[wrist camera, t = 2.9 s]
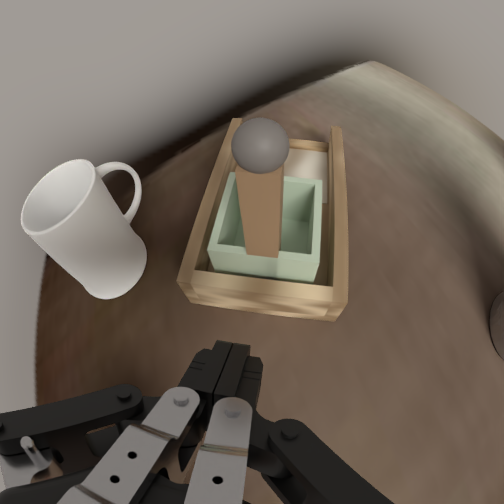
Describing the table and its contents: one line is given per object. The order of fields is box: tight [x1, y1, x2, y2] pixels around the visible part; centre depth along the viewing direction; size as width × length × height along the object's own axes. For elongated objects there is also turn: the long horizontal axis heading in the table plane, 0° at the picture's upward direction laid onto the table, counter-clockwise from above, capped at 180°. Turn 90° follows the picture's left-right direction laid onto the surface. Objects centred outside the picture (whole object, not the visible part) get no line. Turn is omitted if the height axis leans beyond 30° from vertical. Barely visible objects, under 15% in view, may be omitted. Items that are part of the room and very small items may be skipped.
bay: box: [177, 118, 348, 321], centre depth 29 cm, size 13×22×5 cm, turn 171°
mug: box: [21, 159, 147, 299], centre depth 25 cm, size 12×8×12 cm
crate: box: [207, 118, 322, 285], centre depth 20 cm, size 8×8×16 cm
